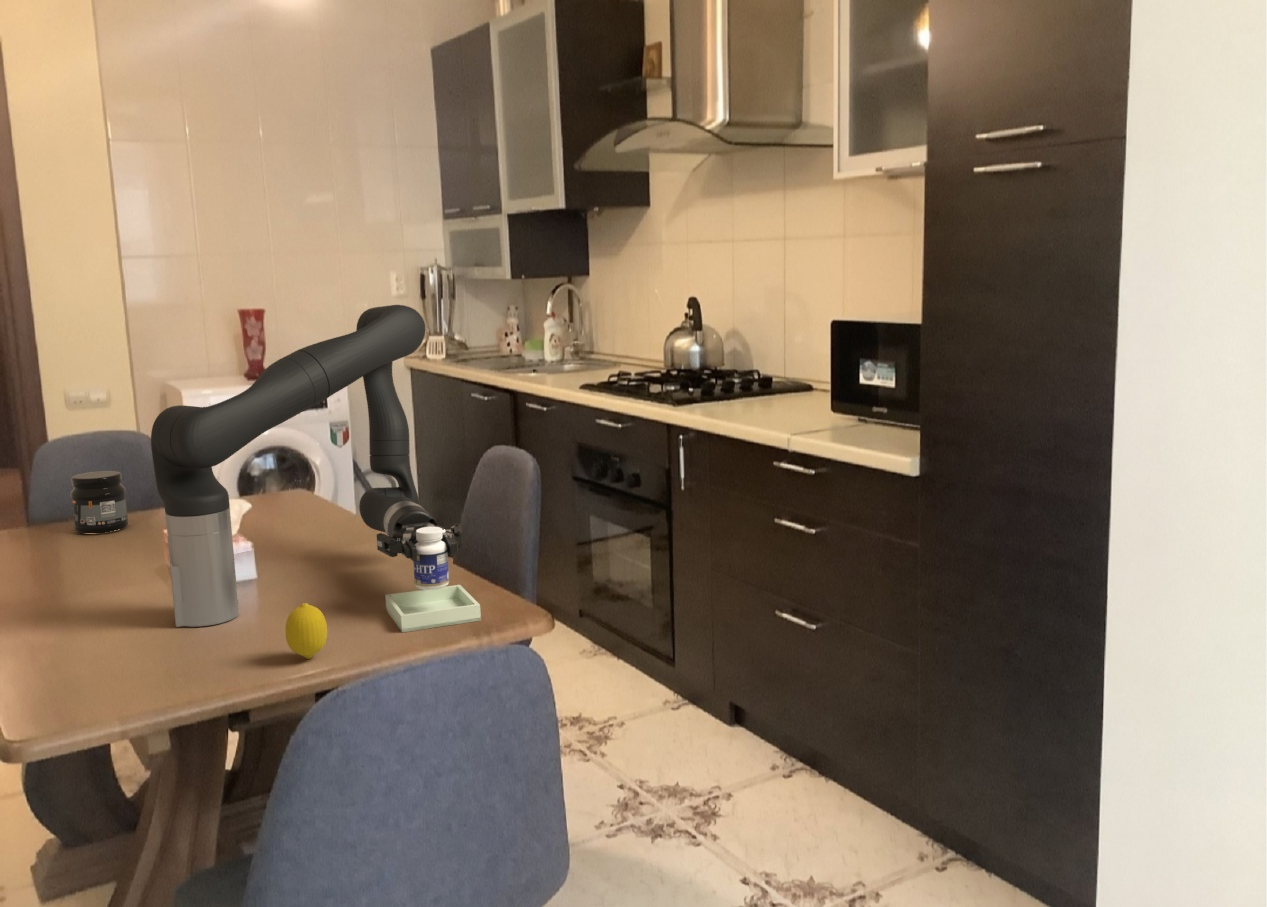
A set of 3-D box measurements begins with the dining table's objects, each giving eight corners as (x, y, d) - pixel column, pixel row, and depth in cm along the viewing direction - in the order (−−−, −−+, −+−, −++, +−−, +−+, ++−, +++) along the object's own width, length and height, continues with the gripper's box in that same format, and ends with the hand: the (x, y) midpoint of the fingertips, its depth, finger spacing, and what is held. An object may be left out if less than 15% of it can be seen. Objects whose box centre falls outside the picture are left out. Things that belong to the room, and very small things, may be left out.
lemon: (317, 667, 144) (313, 610, 143) (279, 664, 145) (275, 608, 144) (336, 652, 149) (332, 598, 148) (300, 650, 150) (296, 596, 149)
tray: (402, 632, 157) (401, 616, 157) (386, 610, 168) (385, 594, 168) (480, 620, 162) (480, 604, 162) (460, 599, 173) (459, 584, 172)
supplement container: (95, 523, 233) (89, 470, 231) (139, 524, 232) (134, 470, 230) (63, 535, 223) (57, 479, 221) (109, 536, 221) (103, 479, 219)
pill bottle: (408, 588, 163) (404, 532, 161) (426, 578, 168) (423, 524, 166) (437, 591, 161) (434, 535, 159) (455, 581, 166) (452, 526, 164)
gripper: (364, 510, 173) (384, 533, 157) (451, 500, 178) (478, 522, 163) (367, 554, 174) (388, 582, 159) (453, 543, 180) (481, 569, 165)
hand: (434, 551), depth 161 cm, fingers closed on pill bottle, 5 cm apart
